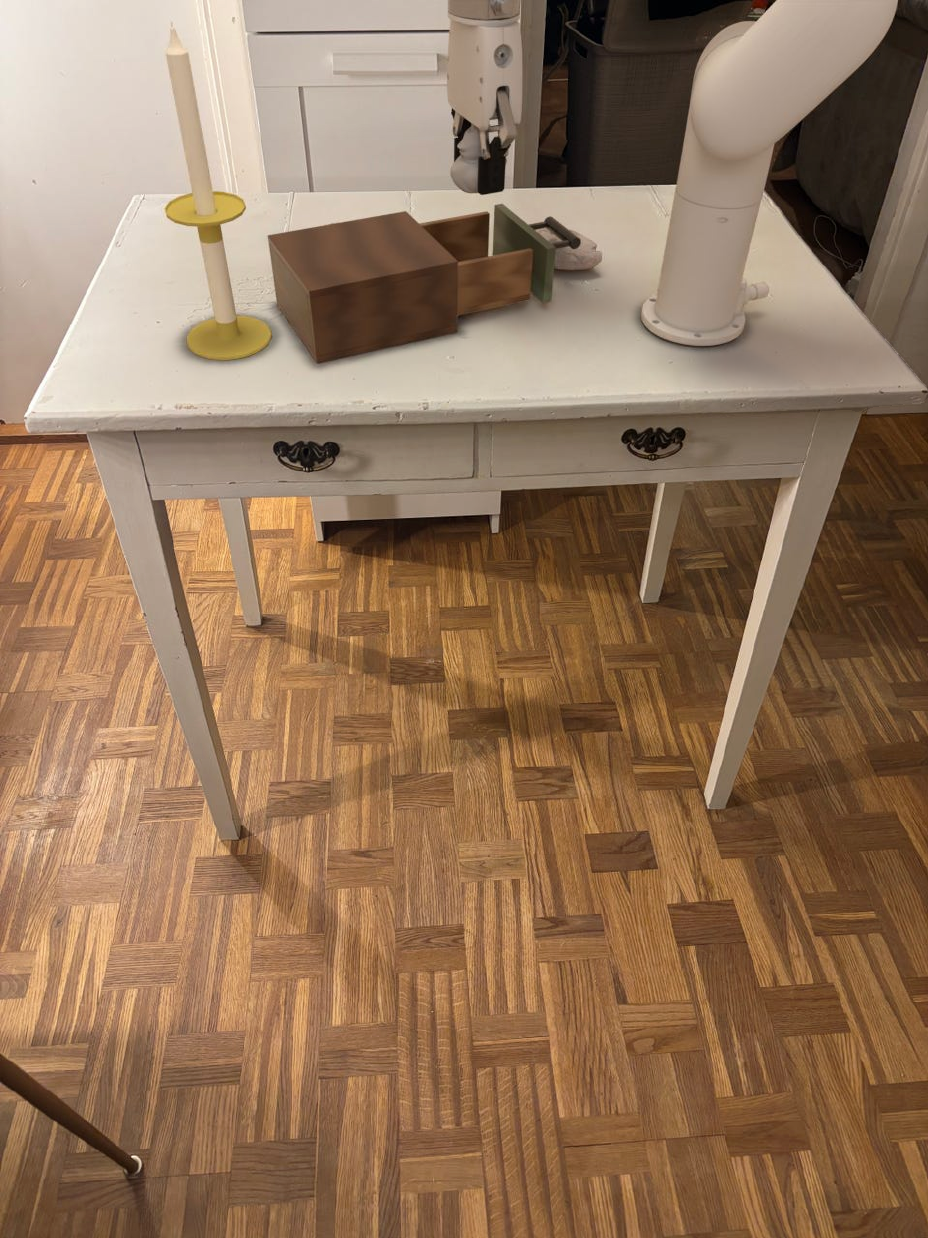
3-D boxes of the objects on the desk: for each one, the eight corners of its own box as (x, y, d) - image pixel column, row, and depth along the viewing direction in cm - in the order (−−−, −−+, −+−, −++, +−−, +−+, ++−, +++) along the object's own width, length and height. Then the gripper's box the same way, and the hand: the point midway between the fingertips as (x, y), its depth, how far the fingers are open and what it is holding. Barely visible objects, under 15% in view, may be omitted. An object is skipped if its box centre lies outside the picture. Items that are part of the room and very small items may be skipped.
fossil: (507, 220, 125) (570, 212, 128) (504, 252, 127) (567, 243, 131) (552, 251, 117) (618, 241, 120) (548, 284, 119) (613, 273, 123)
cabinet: (408, 278, 121) (406, 210, 115) (457, 332, 112) (458, 261, 105) (276, 304, 116) (267, 234, 109) (317, 363, 106) (309, 290, 100)
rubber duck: (446, 183, 110) (446, 110, 104) (500, 180, 111) (503, 107, 105) (454, 201, 106) (455, 126, 101) (510, 198, 107) (514, 123, 102)
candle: (175, 329, 111) (103, 14, 88) (254, 310, 115) (205, 2, 91) (202, 368, 105) (132, 40, 82) (284, 346, 109) (240, 27, 85)
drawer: (537, 248, 126) (541, 196, 121) (591, 292, 117) (597, 238, 112) (385, 278, 119) (382, 224, 114) (429, 328, 110) (429, 272, 105)
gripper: (557, 17, 91) (542, 205, 104) (480, -22, 102) (475, 152, 115) (488, 25, 89) (482, 215, 102) (417, -16, 99) (419, 161, 112)
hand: (478, 180), depth 108 cm, fingers closed on rubber duck, 5 cm apart
